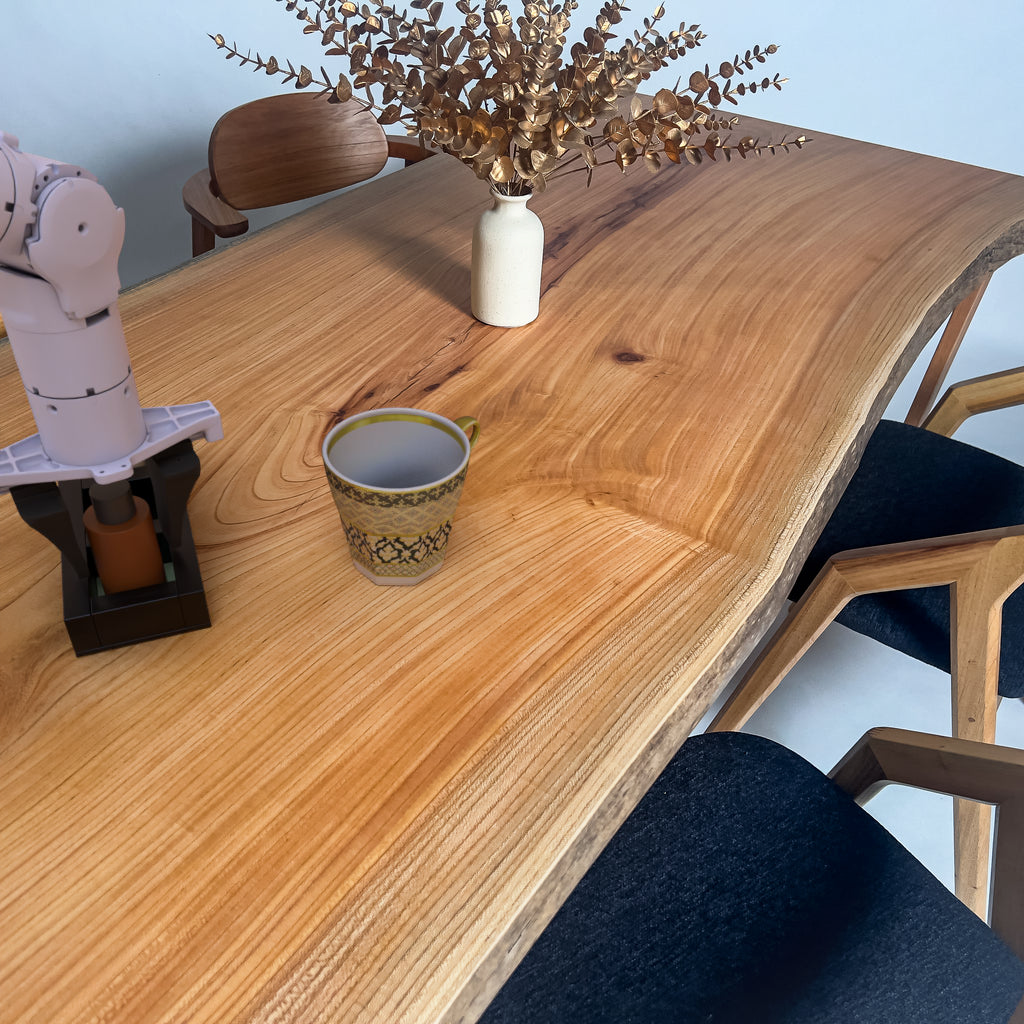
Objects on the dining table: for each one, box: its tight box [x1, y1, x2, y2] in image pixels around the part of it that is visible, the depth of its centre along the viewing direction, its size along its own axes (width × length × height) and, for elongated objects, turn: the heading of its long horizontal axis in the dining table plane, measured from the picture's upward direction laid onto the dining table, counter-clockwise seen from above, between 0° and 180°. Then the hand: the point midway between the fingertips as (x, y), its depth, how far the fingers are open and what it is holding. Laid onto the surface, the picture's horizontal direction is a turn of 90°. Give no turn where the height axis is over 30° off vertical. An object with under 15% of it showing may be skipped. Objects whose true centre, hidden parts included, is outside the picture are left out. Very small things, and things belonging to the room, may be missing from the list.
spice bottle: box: [83, 479, 168, 595], centre depth 59 cm, size 4×4×9 cm
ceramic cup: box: [321, 406, 481, 587], centre depth 65 cm, size 13×10×10 cm
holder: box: [57, 466, 213, 658], centre depth 66 cm, size 8×22×3 cm, turn 22°
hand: (127, 553), depth 60 cm, fingers open, 5 cm apart
